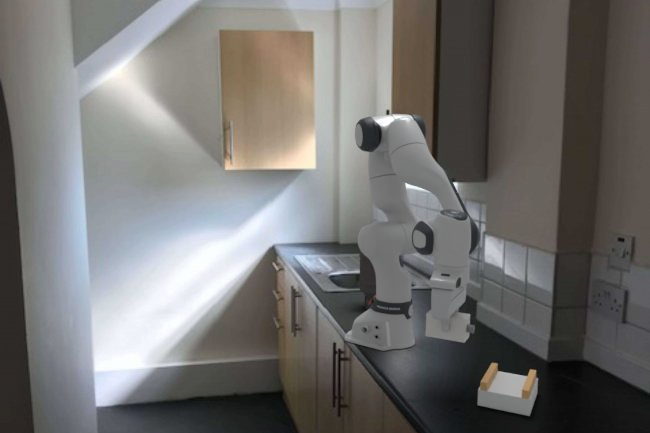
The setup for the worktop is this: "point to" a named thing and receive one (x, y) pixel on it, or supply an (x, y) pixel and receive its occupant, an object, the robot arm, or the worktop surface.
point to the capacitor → (367, 279)
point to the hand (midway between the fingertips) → (448, 327)
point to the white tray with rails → (508, 391)
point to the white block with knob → (457, 327)
